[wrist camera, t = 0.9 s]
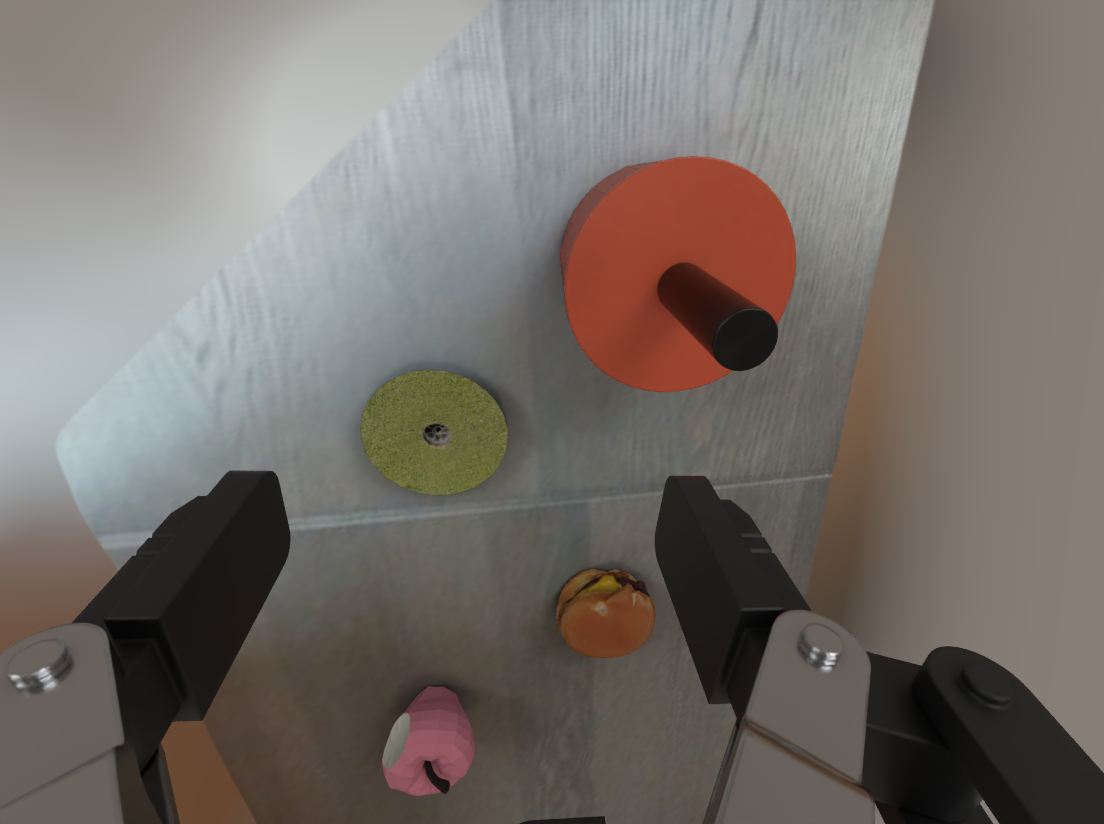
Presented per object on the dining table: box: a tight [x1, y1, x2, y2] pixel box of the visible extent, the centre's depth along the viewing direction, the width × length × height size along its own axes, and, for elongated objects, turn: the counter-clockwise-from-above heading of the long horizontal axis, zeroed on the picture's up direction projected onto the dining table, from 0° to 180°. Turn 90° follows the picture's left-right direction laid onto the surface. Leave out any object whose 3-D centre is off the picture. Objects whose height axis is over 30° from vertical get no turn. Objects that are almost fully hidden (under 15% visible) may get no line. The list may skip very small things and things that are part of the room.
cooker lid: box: [564, 156, 796, 392], centre depth 26 cm, size 13×13×10 cm
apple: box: [382, 686, 475, 796], centre depth 53 cm, size 10×9×10 cm
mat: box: [361, 370, 508, 495], centre depth 40 cm, size 11×11×2 cm
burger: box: [556, 568, 656, 658], centre depth 50 cm, size 10×9×5 cm
